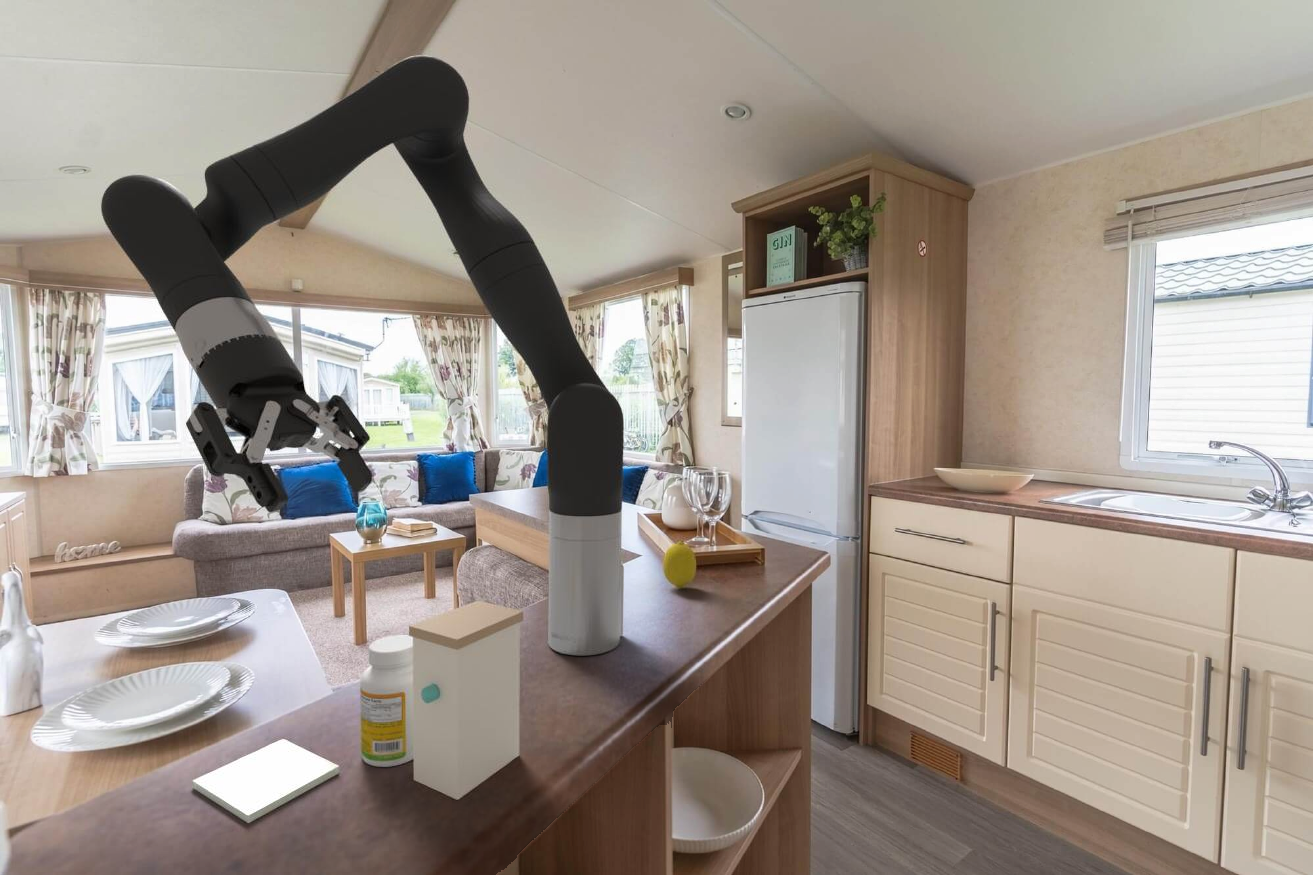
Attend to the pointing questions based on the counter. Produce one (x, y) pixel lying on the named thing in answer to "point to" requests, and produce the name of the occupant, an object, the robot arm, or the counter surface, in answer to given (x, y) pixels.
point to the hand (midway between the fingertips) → (324, 496)
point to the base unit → (465, 696)
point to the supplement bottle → (388, 702)
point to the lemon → (679, 565)
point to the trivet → (265, 779)
